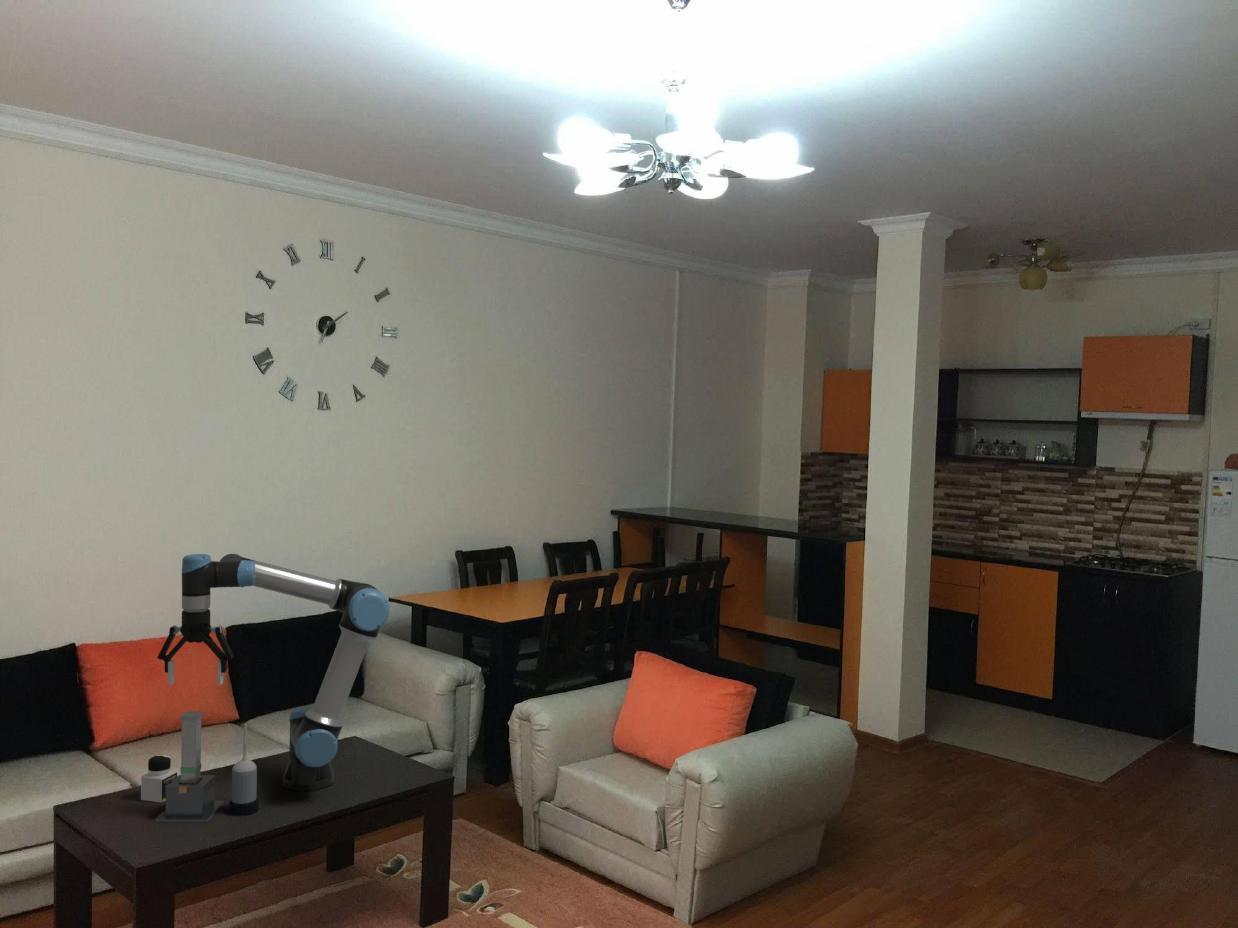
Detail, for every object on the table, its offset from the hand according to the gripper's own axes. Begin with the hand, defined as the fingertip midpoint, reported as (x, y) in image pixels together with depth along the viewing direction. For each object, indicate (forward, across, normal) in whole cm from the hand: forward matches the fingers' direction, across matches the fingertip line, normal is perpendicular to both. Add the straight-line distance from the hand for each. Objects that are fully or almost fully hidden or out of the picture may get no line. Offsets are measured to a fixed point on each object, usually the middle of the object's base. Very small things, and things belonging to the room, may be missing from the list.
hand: (195, 683), depth 291 cm
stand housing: (+36, +1, +2) cm, 36 cm away
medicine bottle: (+37, +14, -10) cm, 40 cm away
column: (+29, +1, +2) cm, 30 cm away
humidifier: (+37, -14, 0) cm, 39 cm away
